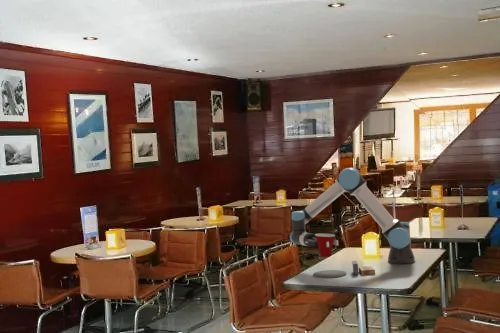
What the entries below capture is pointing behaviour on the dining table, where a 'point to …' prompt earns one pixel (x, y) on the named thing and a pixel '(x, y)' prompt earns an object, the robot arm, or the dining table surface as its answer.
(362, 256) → the dining table surface
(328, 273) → the mat
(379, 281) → the dining table surface
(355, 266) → the bench dog
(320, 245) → the plastic cup
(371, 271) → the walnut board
